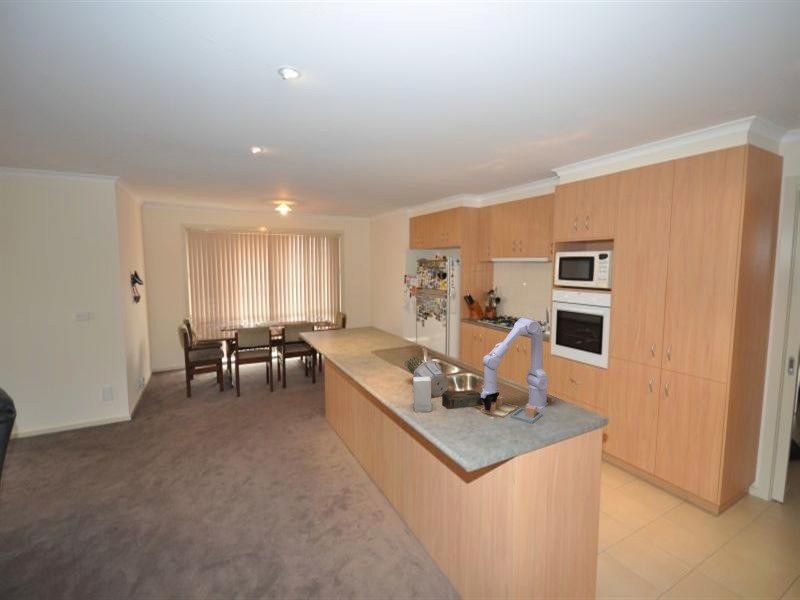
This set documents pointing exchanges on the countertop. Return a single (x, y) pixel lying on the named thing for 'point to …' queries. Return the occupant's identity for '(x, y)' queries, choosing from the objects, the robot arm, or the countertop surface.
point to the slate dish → (521, 416)
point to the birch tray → (502, 410)
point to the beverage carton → (461, 399)
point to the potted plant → (430, 374)
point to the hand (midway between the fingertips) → (489, 408)
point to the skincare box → (422, 394)
